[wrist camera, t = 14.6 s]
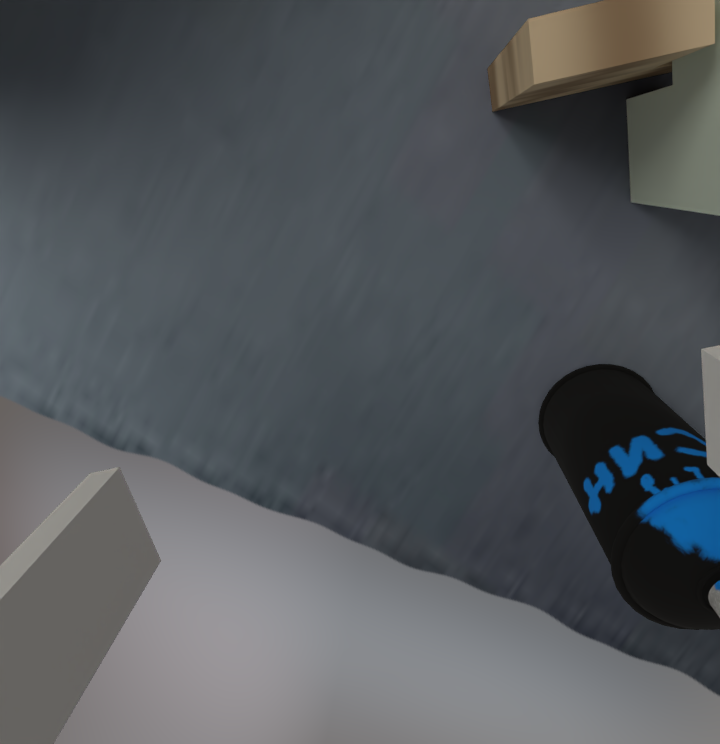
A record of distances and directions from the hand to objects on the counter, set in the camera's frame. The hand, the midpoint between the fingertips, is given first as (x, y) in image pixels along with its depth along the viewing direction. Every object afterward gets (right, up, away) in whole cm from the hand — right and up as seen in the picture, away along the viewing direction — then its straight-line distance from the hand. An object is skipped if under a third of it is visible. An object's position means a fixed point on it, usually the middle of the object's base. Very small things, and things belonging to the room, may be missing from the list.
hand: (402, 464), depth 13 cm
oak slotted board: (+16, +21, +20) cm, 33 cm away
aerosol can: (+16, -1, +28) cm, 32 cm away
